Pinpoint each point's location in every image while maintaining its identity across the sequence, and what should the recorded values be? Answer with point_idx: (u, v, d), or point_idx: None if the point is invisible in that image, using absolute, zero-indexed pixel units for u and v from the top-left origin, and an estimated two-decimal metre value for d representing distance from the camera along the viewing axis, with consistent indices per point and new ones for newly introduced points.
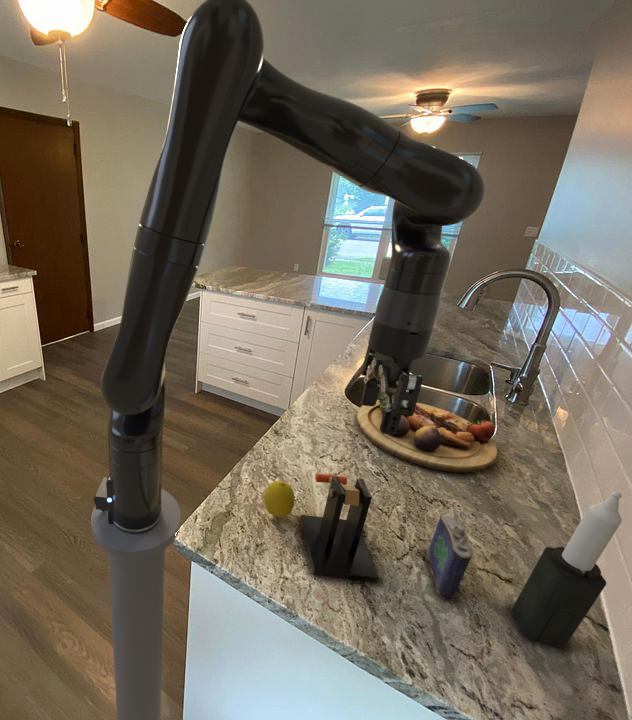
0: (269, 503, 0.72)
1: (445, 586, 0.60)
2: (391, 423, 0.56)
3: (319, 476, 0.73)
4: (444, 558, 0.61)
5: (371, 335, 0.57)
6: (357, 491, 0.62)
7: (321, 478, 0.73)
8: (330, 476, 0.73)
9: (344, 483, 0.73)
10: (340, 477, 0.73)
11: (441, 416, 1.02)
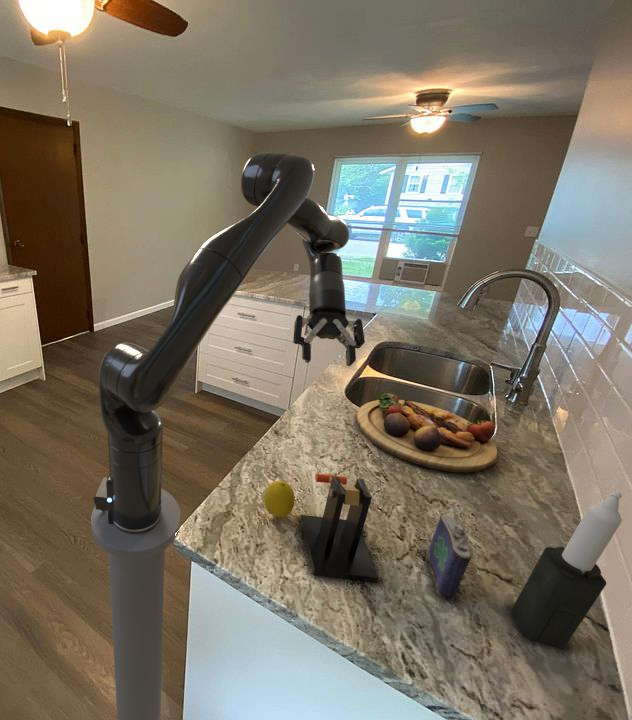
0: (269, 503, 0.72)
1: (445, 586, 0.60)
2: None
3: (319, 476, 0.73)
4: (444, 558, 0.61)
5: (330, 298, 0.83)
6: (357, 491, 0.62)
7: (321, 478, 0.73)
8: (330, 476, 0.73)
9: (344, 483, 0.73)
10: (340, 477, 0.73)
11: (441, 416, 1.02)
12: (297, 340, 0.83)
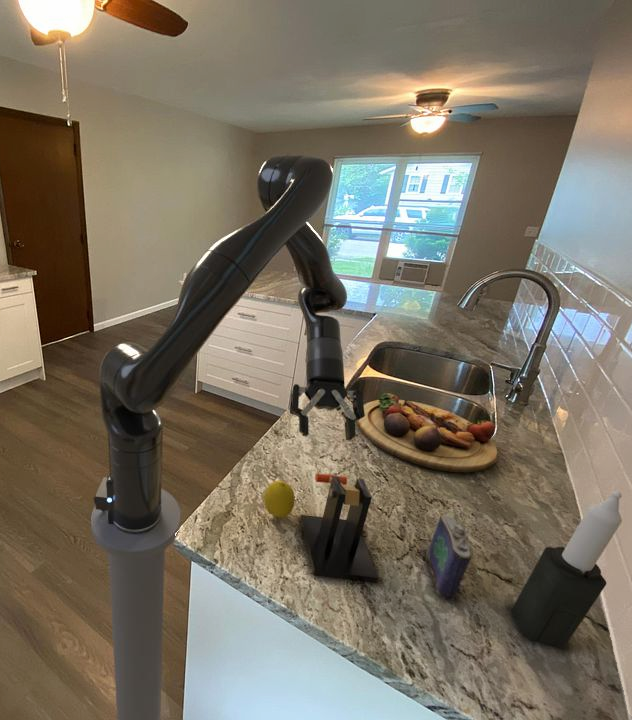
0: (269, 503, 0.72)
1: (445, 586, 0.60)
2: (354, 428, 0.77)
3: (319, 476, 0.73)
4: (444, 558, 0.61)
5: (328, 368, 0.79)
6: (357, 491, 0.62)
7: (321, 478, 0.73)
8: (330, 476, 0.73)
9: (344, 483, 0.73)
10: (340, 477, 0.73)
11: (441, 416, 1.02)
12: (294, 412, 0.79)
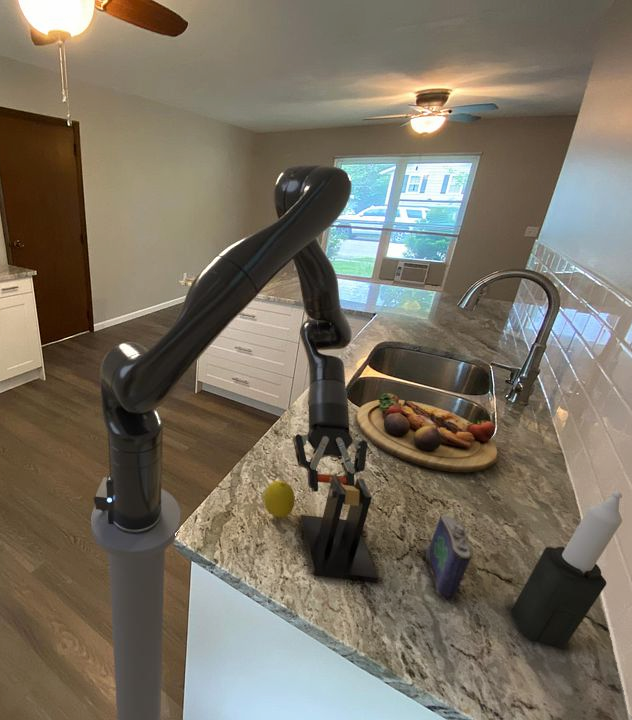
0: (269, 503, 0.72)
1: (445, 586, 0.60)
2: None
3: (319, 476, 0.73)
4: (444, 558, 0.61)
5: (332, 414, 0.74)
6: (357, 491, 0.62)
7: (321, 478, 0.73)
8: (330, 476, 0.73)
9: (344, 483, 0.73)
10: (340, 477, 0.73)
11: (441, 416, 1.02)
12: (302, 465, 0.74)
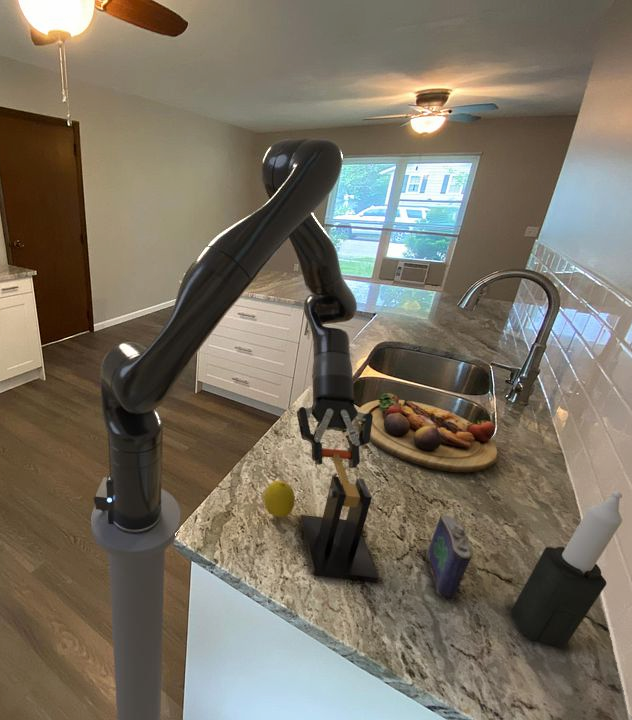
0: (269, 503, 0.72)
1: (445, 586, 0.60)
2: (358, 455, 0.71)
3: (323, 453, 0.72)
4: (444, 558, 0.61)
5: (337, 386, 0.73)
6: (357, 497, 0.62)
7: (325, 454, 0.72)
8: (334, 452, 0.71)
9: (348, 458, 0.72)
10: (345, 453, 0.71)
11: (441, 416, 1.02)
12: (306, 438, 0.73)
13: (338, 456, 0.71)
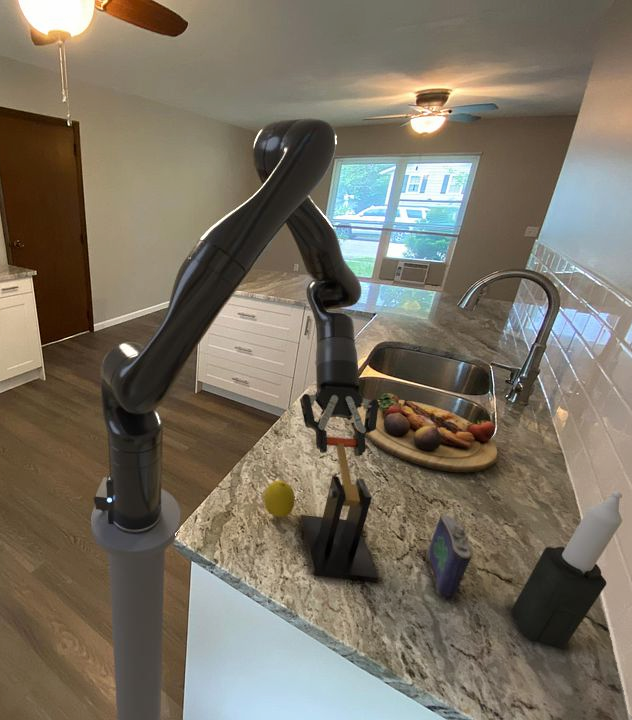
0: (269, 503, 0.72)
1: (445, 586, 0.60)
2: None
3: (327, 443, 0.70)
4: (444, 558, 0.61)
5: (342, 371, 0.71)
6: (357, 501, 0.62)
7: (329, 444, 0.70)
8: (339, 442, 0.69)
9: (352, 447, 0.70)
10: (349, 443, 0.69)
11: (441, 416, 1.02)
12: (310, 425, 0.70)
13: (342, 446, 0.69)
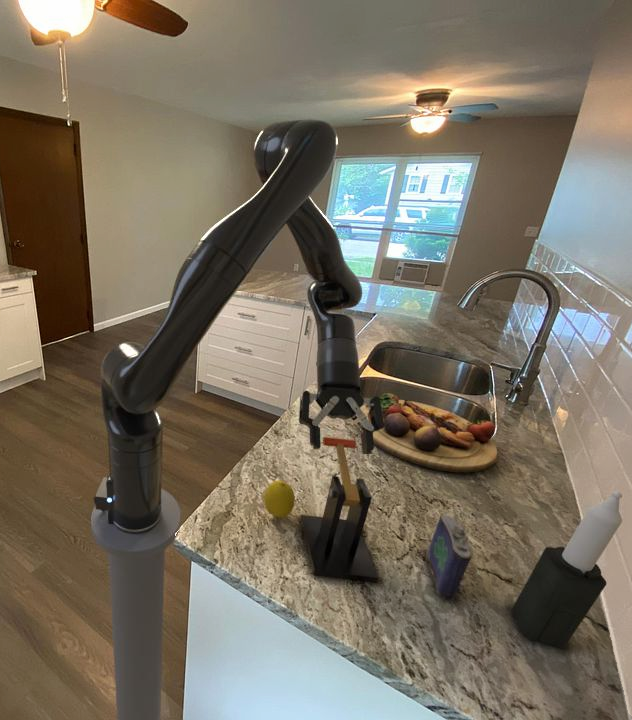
0: (269, 503, 0.72)
1: (445, 586, 0.60)
2: (372, 441, 0.68)
3: (327, 443, 0.70)
4: (444, 558, 0.61)
5: (343, 372, 0.70)
6: (357, 500, 0.62)
7: (329, 444, 0.70)
8: (339, 443, 0.70)
9: (352, 447, 0.70)
10: (349, 443, 0.69)
11: (441, 416, 1.02)
12: (304, 422, 0.70)
13: (342, 447, 0.69)
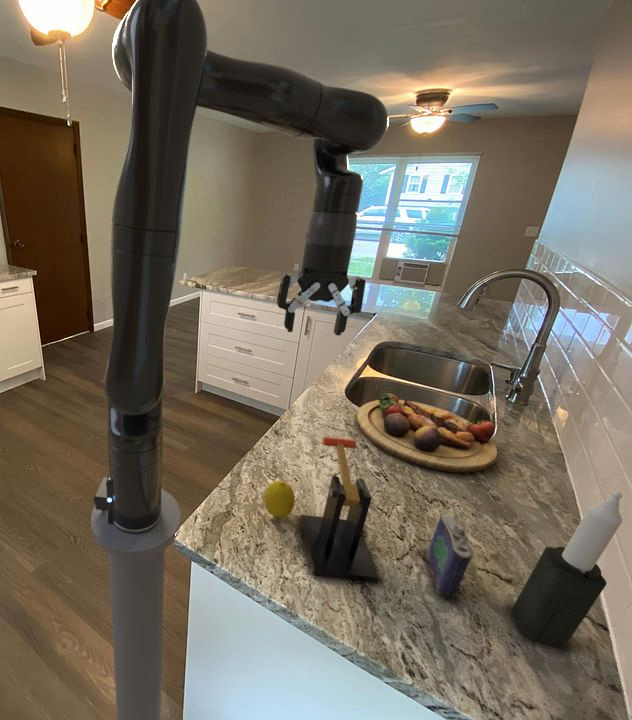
0: (269, 503, 0.72)
1: (445, 586, 0.60)
2: (345, 323, 0.69)
3: (327, 443, 0.70)
4: (444, 558, 0.61)
5: (330, 260, 0.62)
6: (357, 500, 0.62)
7: (329, 444, 0.70)
8: (339, 443, 0.70)
9: (352, 447, 0.70)
10: (349, 443, 0.69)
11: (441, 416, 1.02)
12: (280, 307, 0.69)
13: (342, 447, 0.69)
